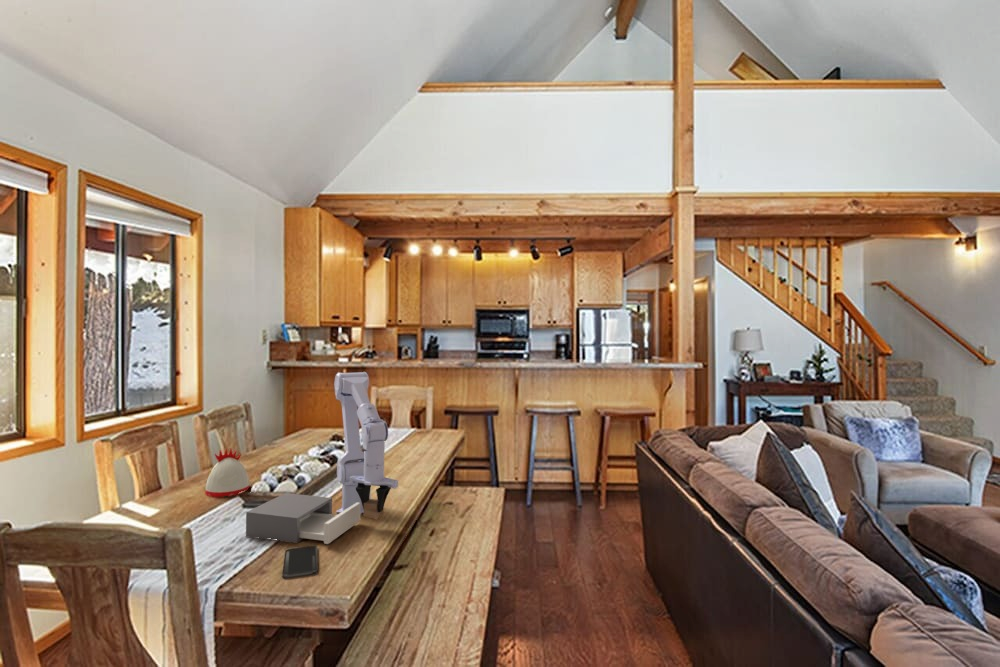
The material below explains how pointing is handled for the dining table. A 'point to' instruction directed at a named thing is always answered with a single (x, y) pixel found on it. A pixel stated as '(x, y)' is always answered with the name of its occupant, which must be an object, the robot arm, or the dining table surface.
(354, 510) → the tray
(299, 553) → the phone
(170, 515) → the dining table surface
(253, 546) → the dining table surface
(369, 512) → the walnut block
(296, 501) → the box housing
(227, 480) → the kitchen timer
